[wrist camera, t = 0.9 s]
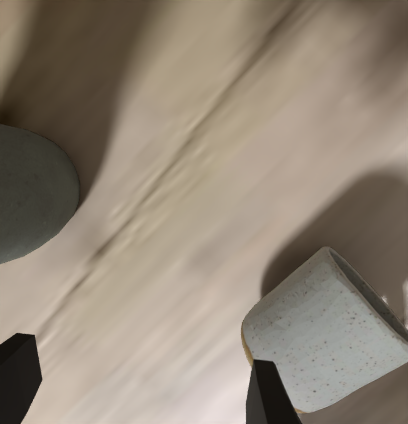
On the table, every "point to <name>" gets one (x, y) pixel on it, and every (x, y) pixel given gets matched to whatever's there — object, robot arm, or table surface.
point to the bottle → (33, 191)
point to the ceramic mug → (324, 332)
